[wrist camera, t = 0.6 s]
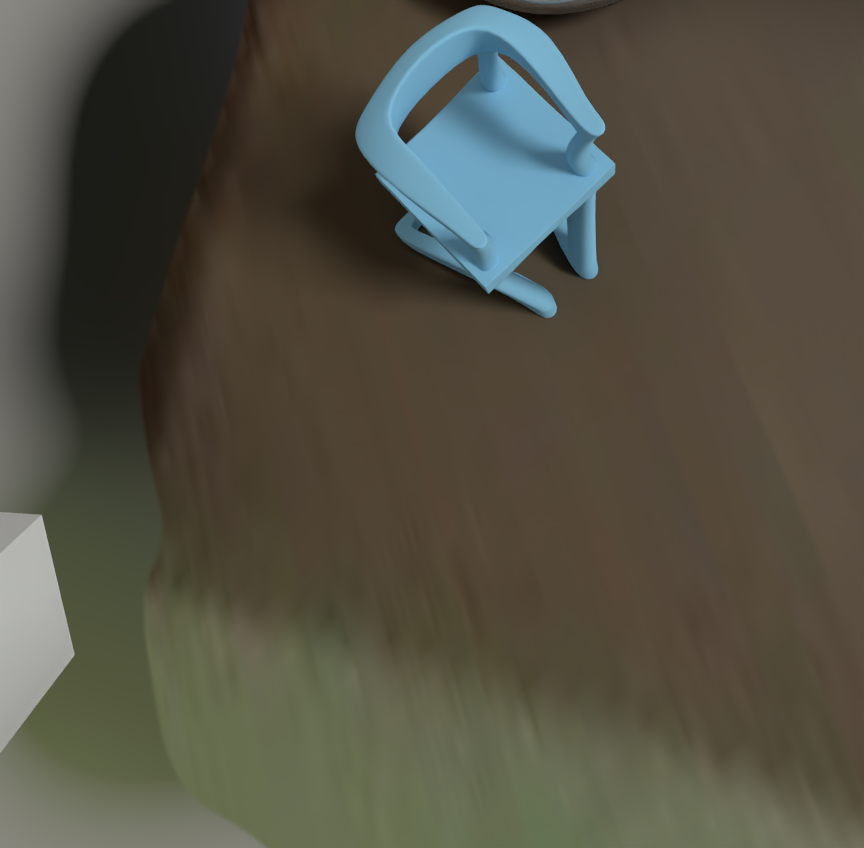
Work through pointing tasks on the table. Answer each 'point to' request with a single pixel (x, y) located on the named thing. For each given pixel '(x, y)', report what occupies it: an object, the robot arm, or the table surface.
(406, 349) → the table surface
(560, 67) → the chair
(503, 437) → the table surface
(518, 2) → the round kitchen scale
